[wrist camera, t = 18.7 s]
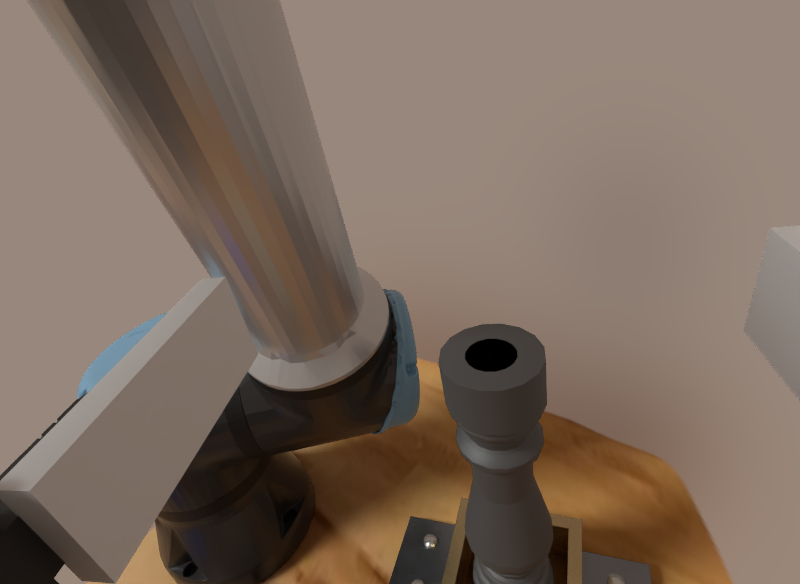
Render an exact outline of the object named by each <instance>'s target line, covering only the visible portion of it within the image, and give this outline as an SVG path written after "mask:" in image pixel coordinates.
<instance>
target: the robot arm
mask: <svg viewBox="0 0 800 584" xmlns="http://www.w3.org/2000/svg"><path fill="white" fill-rule="evenodd" d="M27 2H28V3H29V5H30V6H31V7H32V9H33V10H34V12H35V14H36V15H37V17H38V18H39V20H40V21H41V23H42V24H43V26H44V27H45V28H46V30H47V32H48V33H49V34H50V36H51V38H52V39H53V41H54V42H55V44H56V45H57V47H58V48H59V49H60V51H61V53H62V54H63V56H64V57H65V59H66V60H67V62H68V63H69V65H70V66H71V68H72V69H73V71H74V72H75V74H76V75H77V77H78V78H79V80H80V81H81V83H82V84H83V86H84V87H85V89H86V90H87V92H88V93H89V95H90V96H91V98H92V99H93V101H94V102H95V104H96V105H97V107H98V108H99V110H100V111H101V113H102V114H103V116H104V117H105V119H106V120H107V122H108V123H109V125H110V126H111V128H112V129H113V130H114V132H115V134H116V135H117V137H118V138H119V140H120V141H121V143H122V144H123V146H124V147H125V149H126V150H127V152H128V153H129V155H130V156H131V158H132V159H133V161H134V162H135V164H136V165H137V167H138V168H139V170H140V171H141V173H142V174H143V176H144V177H145V179H146V180H147V182H148V183H149V185H150V186H151V188H152V189H153V191H154V192H155V194H156V195H157V197H158V198H159V200H160V201H161V203H162V204H163V206H164V207H165V209H166V210H167V212H168V213H169V215H170V216H171V218H172V219H173V221H174V222H175V224H176V225H177V227H178V228H179V230H180V231H181V233H182V234H183V236H184V237H185V239H186V240H187V242H188V243H189V245H190V246H191V248H192V249H193V251H194V252H195V254H196V255H197V257H198V258H199V260H200V261H201V263H202V264H203V266H204V267H205V269H206V270H207V272H208V273H209V275H210V276H211V278H206V279H201V280H200V281H199V282H198V283H197V284H196V285H195V286H194V287H193V288H192V289H191V290H190V291H189V292H188V293H187V294H186V295H185V296H184V297H183V298H182V299H181V300H180V301H179V302H178V303H177V304H176V305H175V306H174V307H173V308H172V309H171V310H170V311H169V312H167V313H164V314H162V315H160V316H157V317H155V318H153V319H151V320H149V321H147V322H145V323H143V324H141V325H139V326H138V327H136V328H134V329H133V330H131V331H129V332H128V333H127V334H125V335H124V336H122V337H120V338H119V339H118V340H116V341H115V342H114V343H112V344H111V345H110V346H109V347H108V348H106V349H105V350H104V351H103V352H102V353H101V354H100V355H99V356H98V357H97V358H96V359H95V360H94V361H93V362H92V364H91V365H90V366H89V368H88V369H87V371H86V372H85V374H84V375H83V377H82V379H81V382H80V384H79V388H78V394H77V397H78V399H77V400H76V401H75V402H74V403H73V404H72V405H71V406H70V407H69V408H68V409H67V410H66V411H65V412H64V413H63V414H62V415H61V416H60V417H59V418H58V419H57V420H58V421H57V423H53V424H52V425H51V426H50V427H49V428H48V429H47V430H46V431H45V432H44V433H43V434H42V437H41V439H37V440H36V441H35V442H34V443H33V444H32V445H31V446H30V447H29V448H28V449H27V450H26V451H25V452H24V453H23V454H22V455H21V456H19V457H18V459H17V460H15V462H13V463H12V464H11V465H10V467H8V469H6V470H5V471H4V472H3V474H2V475H0V584H59V583H58V582H57V581H56V580H55V579H54V577H55V576H56V574H57V573H58V572H59V570H60V569H61V568H62V566H63V565H64V564H65V565H66V566H67V567H68V568H69V569H70V570H71V571H72V572H73V573H75V574H76V576H77V577H78V578H79V579H80V580H81V581H89V582H103V583H116V582H117V581H118V579H119V577H120V576H121V574H122V573H123V571H124V569H125V568H126V566H127V565H128V563H129V561H130V560H131V558H132V556H133V555H134V553H135V552H136V550H137V548H138V547H139V545H140V544H141V542H142V540H143V539H144V537H145V536H146V534H147V532H148V531H149V529H150V528H151V526H152V524H153V523H154V521H155V524H156V531H157V538H158V545H159V551H160V556H161V559H162V561H163V564H164V566H165V568H166V569H167V571H168V572H169V573H170V575H171V576H172V577H173V578H174V580H175V581H176V582H177V584H258V583H260V582H261V581H263V580H264V579H266V578H267V577H269V576H270V575H271V574H273V573H274V572H275V571H276V570H277V569H279V568H280V567H281V566H282V565H283V564H284V563H285V562H286V561H287V560H288V559H289V557H290V556H291V555H292V554H293V553H294V551H295V550H296V549H297V547H298V546H299V544H300V543H301V541H302V540H303V538H304V536H305V534H306V532H307V530H308V528H309V525H310V523H311V520H312V516H313V512H314V505H315V495H314V489H313V485H312V482H311V480H310V478H309V475H308V473H307V471H306V469H305V467H304V465H303V464H302V462H301V461H300V460H299V459H298V458H297V457H296V456H295V455H294V454H293V453H292V452H290V451H293V450H298V449H302V448H307V447H311V446H316V445H320V444H325V443H329V442H334V441H338V440H342V439H347V438H351V437H356V436H360V435H365V434H369V433H372V434H380V433H382V432H384V431H385V430H387V429H389V428H392V427H396V426H400V425H403V424H406V423H408V422H409V421H411V420H412V419H413V418H414V416H415V415H416V413H417V411H418V407H419V399H420V384H419V373H418V369H417V366H416V364H417V356H416V346H415V340H414V335H413V329H412V325H411V320H410V316H409V312H408V309H407V305H406V302H405V300H404V297H403V296H402V294H401V293H399V292H398V291H396V290H386V289H382V287H381V286H380V284H379V282H378V281H377V280H376V279H375V278H374V277H373V276H372V275H371V274H369V273H368V272H366V271H365V270H363V269H361V268H359V267H357V266H356V262H355V259H354V256H353V252H352V248H351V245H350V242H349V238H348V235H347V231H346V228H345V224H344V221H343V217H342V214H341V210H340V207H339V203H338V200H337V197H336V193H335V190H334V186H333V183H332V180H331V176H330V173H329V169H328V165H327V162H326V159H325V155H324V152H323V148H322V145H321V141H320V138H319V134H318V131H317V127H316V124H315V120H314V117H313V113H312V110H311V107H310V103H309V100H308V96H307V93H306V89H305V86H304V82H303V79H302V75H301V72H300V68H299V65H298V62H297V59H296V55H295V51H294V48H293V44H292V41H291V37H290V34H289V30H288V27H287V23H286V20H285V17H284V13H283V10H282V6H281V3H280V0H27ZM744 332H745V333H746V335H747V336H748V337H749V338H750V340H751V341H752V342H753V343H754V345H755V346H756V347H757V348H758V350H759V351H760V352H761V353H762V355H763V356H764V357H765V358H766V360H767V361H768V362H769V363H770V364H771V366H772V367H773V368H774V369H775V371H776V372H777V373H778V375H779V376H780V377H781V378H782V380H783V381H784V382H785V383H786V385H787V386H788V387H789V388H790V390H791V391H792V392H793V393H794V394H795V396H796V397H797V398H798V400H799V401H800V225H799V226H788V227H778V228H770V229H769V233H768V237H767V240H766V244H765V248H764V253H763V256H762V260H761V264H760V268H759V272H758V276H757V280H756V284H755V288H754V292H753V295H752V299H751V303H750V307H749V311H748V315H747V319H746V323H745V327H744Z"/></svg>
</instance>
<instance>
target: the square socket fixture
mask: <svg viewBox="0 0 800 584" xmlns="http://www.w3.org/2000/svg"><path fill="white" fill-rule="evenodd" d="M468 500H469V499H466V498H461V502H460V507H459V511H458V515H457V520H456V524H455V525H452V524H447V523H442V522H437V521H432V520H427V519H422V518H418V517H413V516H411V517H410V520H409V523H408V526H407V529H406V532H405V536H404V539H403V542H402V545H401V548H400V551H399V554H398V557H397V560H396V564H395V567H394V570H393V573H392V576H391V579H390V582H389V584H466V580H467V575H468V570H469V565H470V559H471V554H472V550H471V548H470V545H469V543H468V540H467V537H466V534H465V515H466V509H467V504H468ZM550 516H551V518H552V528H553V543H552V545H551V548H550V551H549V552H550V553H555V554H560V555H565V556H568V575H567V584H651V576H650V567H649V565H648V564H643V563H638V562H633V561H629V560H624V559H619V558H614V557H609V556H604V555H599V554H594V553H589V552H584V551H582V519H577V518H571V517H566V516H560V515H555V514H550Z"/></svg>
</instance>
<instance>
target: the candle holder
mask: <svg viewBox="0 0 800 584" xmlns="http://www.w3.org/2000/svg"><path fill="white" fill-rule="evenodd" d="M439 367H440V373H441V379H442V384H443V390H444V396H445V402H446V405H447V408H448V410H449V412H450V415H451V417H452V418H453V419H454V420H455V421H456V423H457V432H456V442H457V445H458V447H459V449H460V452H461V454H462V456H463V458H465V459H466V460H467V461H468V462H469V463H470V464H471V467H472V474H473V481H472V486H471V490H470V495H469V500H468V504H467V509H466V515H465V534H466V537H467V540H468V543H469V545H470V548H471V550H472V552H473V553H474V554H475V560H474V564H473V581H474V584H554V574H553V568H552V566H551V564H550V558H549V556H548V554H549V551H550V548H551V545H552V543H553V528H552V518H551V516H550V514H549V511H548V509H547V507H546V504H545V502H544V500H543V497H542V495H541V493H540V490H539V488H538V485H537V483H536V481H535V478H534V476H533V462H534V461H536V460H537V458H538V456H539V454H540V452H541V449H542V447H543V444H544V441H543V431H542V426H541V425H540V423H539V422H538V421H539V419H540V418H541V415H542V413H543V411H544V409H545V407H546V405H547V392H546V358H545V350H544V346H543V345H542V344H541V342H540V341H539V340H538V339H537V338H536V336H535V335H533V334H531V333H529V332H527V331H525V330H523V329H522V328H519V327H515V326H510V325H505V324H484V325H479V326H475V327H472V328H468V329H464V330H463V331H461V332H459V333H457V334H456V335H454V336H452V337H451V338H449V340H448V341H447V342H446V344H445V345H444V346H443V347H442V348H441V352H440V357H439Z"/></svg>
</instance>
